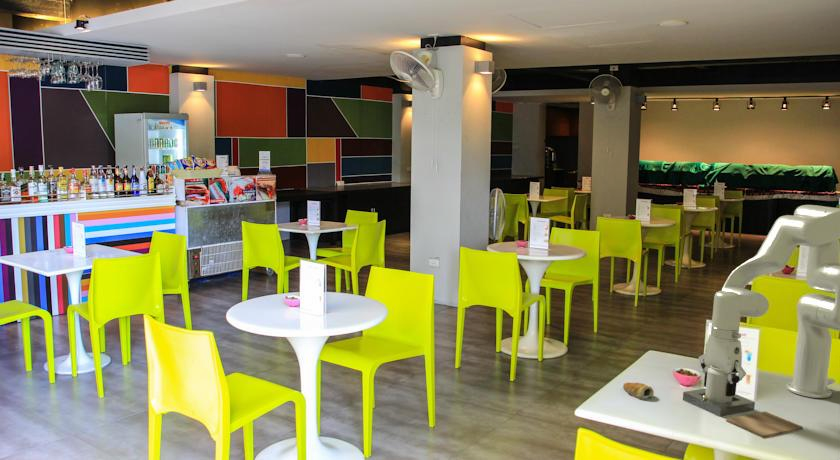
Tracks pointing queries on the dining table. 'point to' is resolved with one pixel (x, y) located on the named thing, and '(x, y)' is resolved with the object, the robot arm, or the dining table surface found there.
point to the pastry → (638, 390)
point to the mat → (764, 424)
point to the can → (717, 386)
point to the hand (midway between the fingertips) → (719, 390)
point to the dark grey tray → (723, 409)
